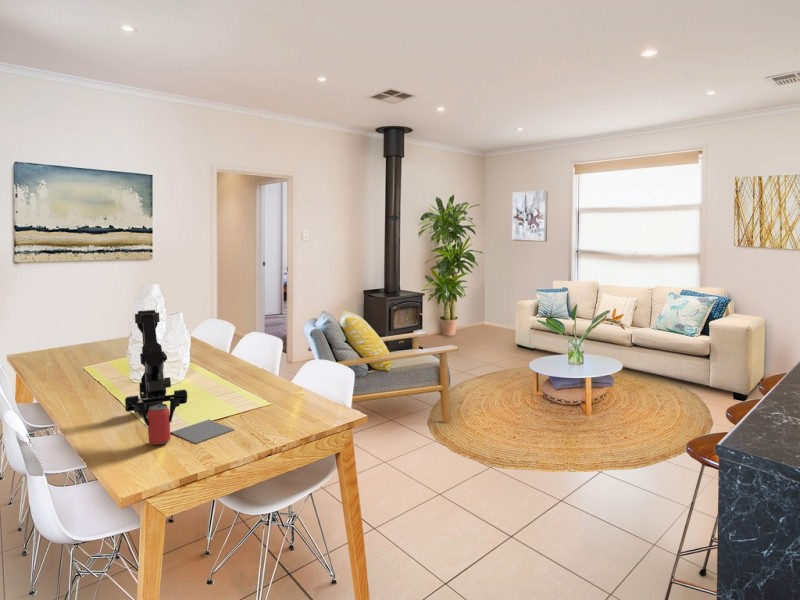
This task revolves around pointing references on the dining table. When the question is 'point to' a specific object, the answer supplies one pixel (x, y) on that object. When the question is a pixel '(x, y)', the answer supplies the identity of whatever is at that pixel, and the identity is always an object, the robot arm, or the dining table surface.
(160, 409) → the beer can
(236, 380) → the dining table surface
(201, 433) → the mat
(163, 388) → the robot arm
